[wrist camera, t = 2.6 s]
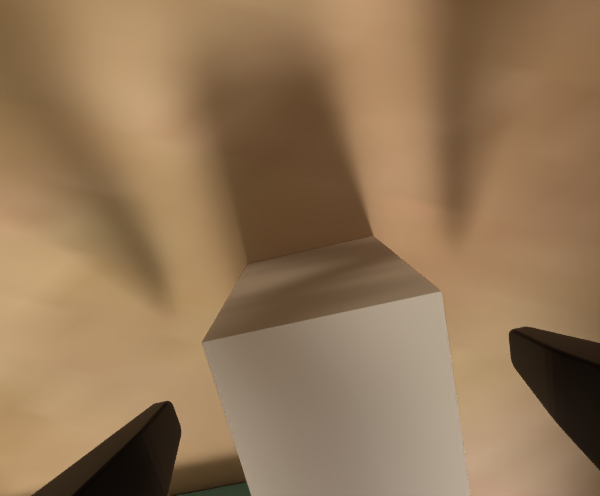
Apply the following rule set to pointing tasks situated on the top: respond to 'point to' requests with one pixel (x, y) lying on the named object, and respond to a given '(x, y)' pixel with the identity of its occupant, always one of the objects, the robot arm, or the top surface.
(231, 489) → the socket board
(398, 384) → the plug
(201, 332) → the top surface
